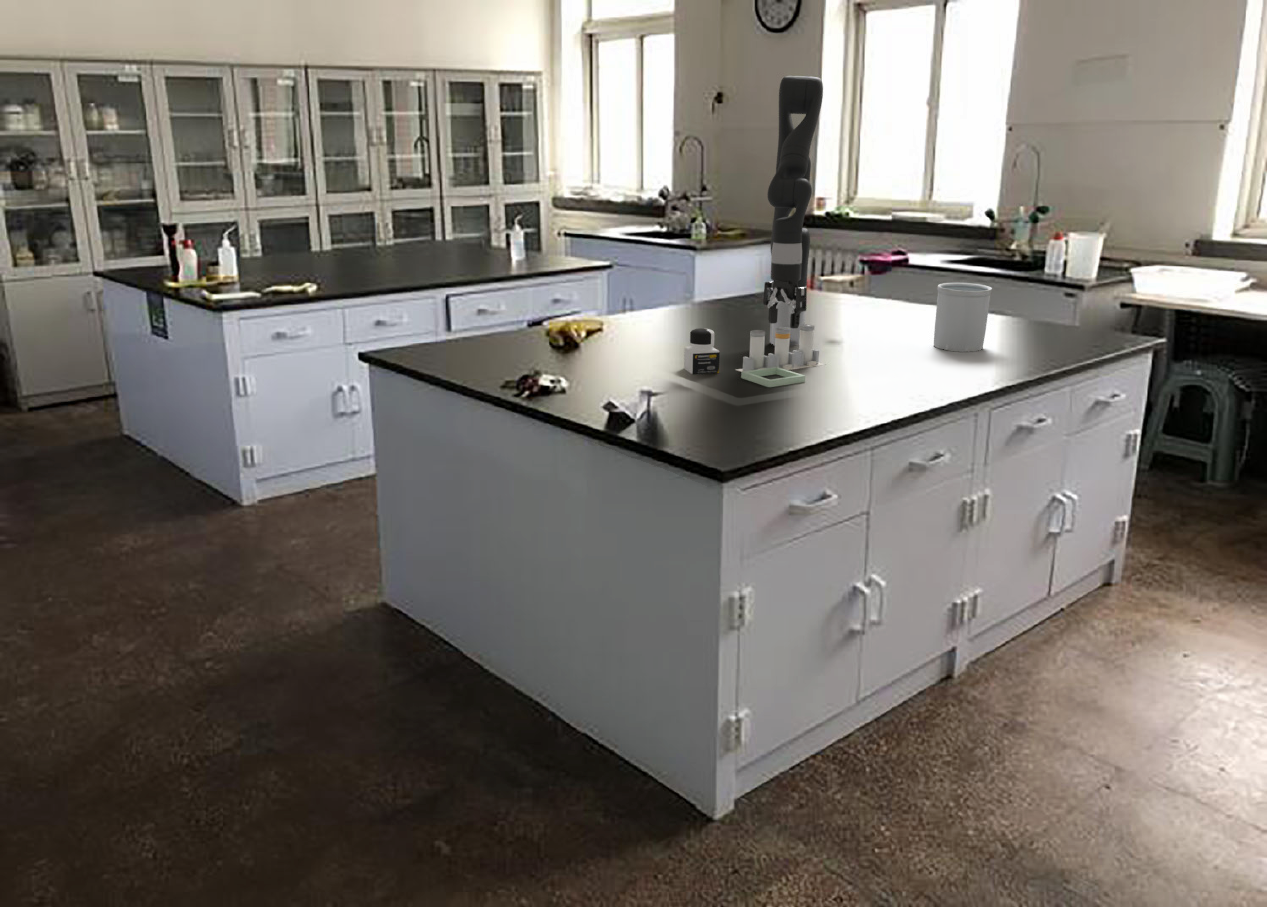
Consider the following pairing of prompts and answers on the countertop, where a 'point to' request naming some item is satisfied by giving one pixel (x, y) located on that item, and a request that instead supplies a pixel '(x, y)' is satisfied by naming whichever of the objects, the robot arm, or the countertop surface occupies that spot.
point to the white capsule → (806, 342)
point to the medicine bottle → (701, 353)
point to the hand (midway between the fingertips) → (783, 325)
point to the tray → (789, 379)
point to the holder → (793, 363)
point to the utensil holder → (961, 316)
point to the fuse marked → (782, 345)
